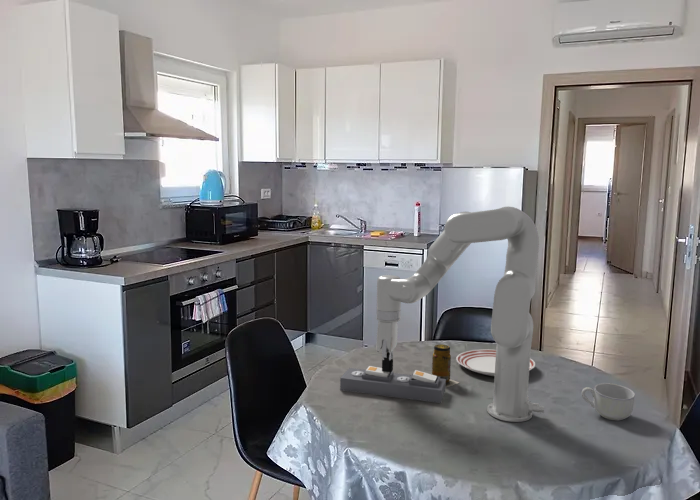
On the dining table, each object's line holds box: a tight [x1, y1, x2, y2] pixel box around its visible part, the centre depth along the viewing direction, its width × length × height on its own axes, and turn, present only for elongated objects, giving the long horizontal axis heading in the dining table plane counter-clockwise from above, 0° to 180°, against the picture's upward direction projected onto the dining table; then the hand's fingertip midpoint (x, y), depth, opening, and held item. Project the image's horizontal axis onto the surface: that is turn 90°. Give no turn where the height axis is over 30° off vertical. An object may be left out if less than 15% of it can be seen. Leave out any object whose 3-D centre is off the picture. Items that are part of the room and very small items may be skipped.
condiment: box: [431, 343, 460, 388], centre depth 191 cm, size 7×8×12 cm
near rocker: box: [412, 369, 437, 383], centre depth 180 cm, size 7×4×1 cm, turn 73°
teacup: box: [581, 382, 636, 421], centre depth 167 cm, size 14×11×8 cm
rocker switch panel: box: [339, 367, 447, 404], centre depth 183 cm, size 32×10×5 cm, turn 73°
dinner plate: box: [455, 348, 536, 377], centre depth 207 cm, size 27×27×3 cm
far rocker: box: [365, 365, 390, 377], centre depth 184 cm, size 7×4×1 cm, turn 73°
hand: (387, 371), depth 184 cm, fingers closed
